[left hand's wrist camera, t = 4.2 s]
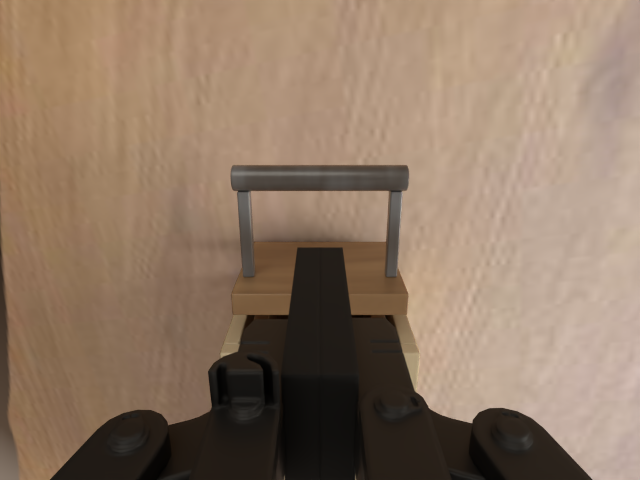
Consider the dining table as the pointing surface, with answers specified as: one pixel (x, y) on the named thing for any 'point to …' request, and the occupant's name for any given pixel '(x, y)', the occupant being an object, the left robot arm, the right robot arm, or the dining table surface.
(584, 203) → the dining table surface
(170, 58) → the dining table surface
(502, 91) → the dining table surface
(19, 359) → the dining table surface
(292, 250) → the drawer
